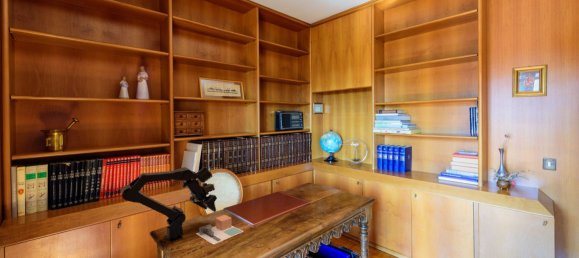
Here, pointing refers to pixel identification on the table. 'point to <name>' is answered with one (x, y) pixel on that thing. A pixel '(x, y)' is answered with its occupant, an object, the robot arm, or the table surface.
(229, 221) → the salmon orange cube
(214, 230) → the panel
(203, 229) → the t key
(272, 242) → the table surface
